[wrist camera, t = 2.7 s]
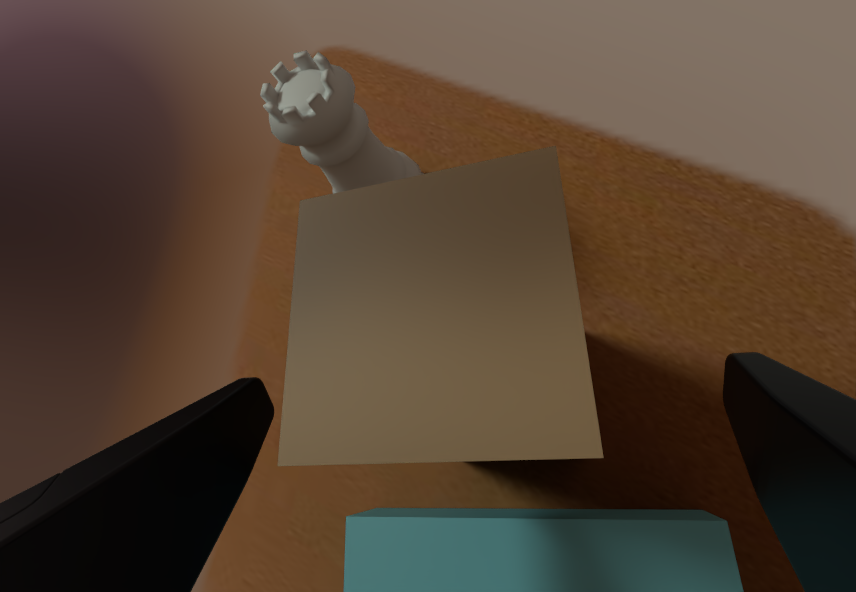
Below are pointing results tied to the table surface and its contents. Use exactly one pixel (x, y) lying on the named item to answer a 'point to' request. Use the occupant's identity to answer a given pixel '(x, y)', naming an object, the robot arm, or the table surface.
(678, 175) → the table surface
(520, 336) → the tan wooden block
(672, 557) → the base block
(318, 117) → the rook chess piece
